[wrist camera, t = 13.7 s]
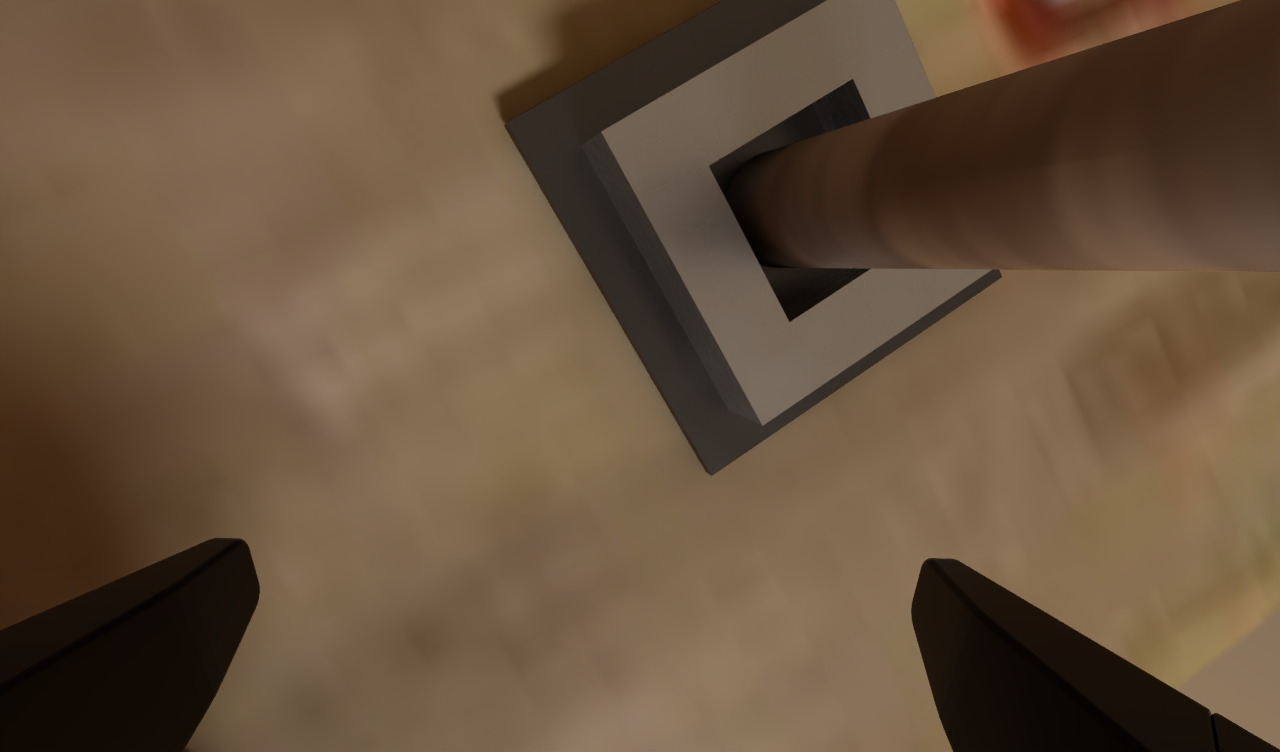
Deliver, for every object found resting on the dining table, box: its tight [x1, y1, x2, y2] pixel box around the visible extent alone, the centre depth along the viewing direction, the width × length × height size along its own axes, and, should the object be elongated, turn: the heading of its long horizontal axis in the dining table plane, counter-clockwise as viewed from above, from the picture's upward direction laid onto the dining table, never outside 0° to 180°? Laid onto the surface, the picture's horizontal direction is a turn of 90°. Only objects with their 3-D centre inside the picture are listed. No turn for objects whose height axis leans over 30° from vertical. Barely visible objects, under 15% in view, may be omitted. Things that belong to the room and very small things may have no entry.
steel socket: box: [505, 0, 1002, 476], centre depth 23 cm, size 12×12×3 cm
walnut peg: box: [726, 0, 1280, 272], centre depth 16 cm, size 4×4×16 cm
